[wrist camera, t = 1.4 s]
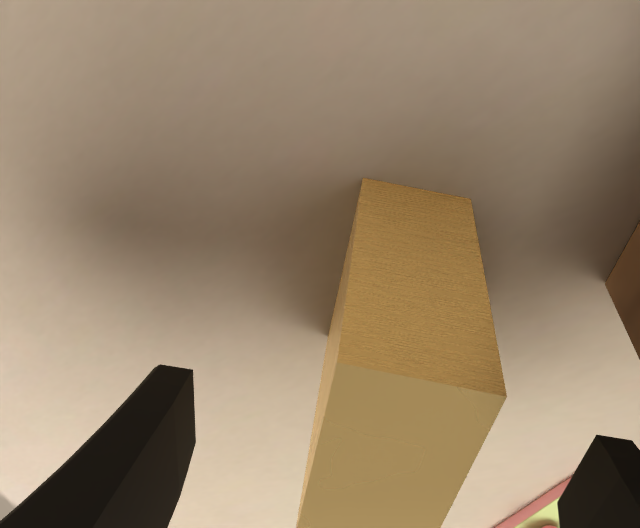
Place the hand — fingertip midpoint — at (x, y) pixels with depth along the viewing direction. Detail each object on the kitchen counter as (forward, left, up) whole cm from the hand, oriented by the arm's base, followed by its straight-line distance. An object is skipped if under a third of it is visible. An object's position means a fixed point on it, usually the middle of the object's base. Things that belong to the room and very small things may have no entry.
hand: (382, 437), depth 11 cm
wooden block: (0, 0, -5) cm, 5 cm away
